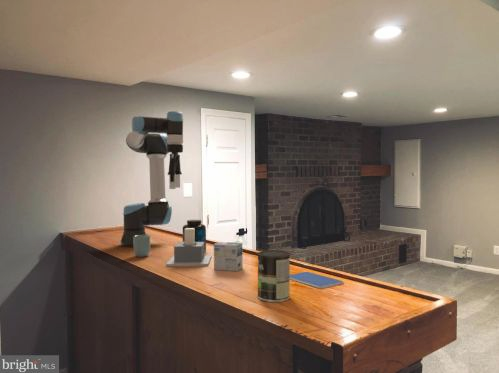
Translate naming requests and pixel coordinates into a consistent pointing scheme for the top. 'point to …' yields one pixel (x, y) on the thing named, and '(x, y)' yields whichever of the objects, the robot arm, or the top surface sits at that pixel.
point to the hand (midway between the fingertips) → (175, 188)
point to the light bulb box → (228, 256)
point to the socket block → (189, 255)
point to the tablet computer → (315, 280)
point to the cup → (141, 245)
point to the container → (196, 231)
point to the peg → (190, 236)
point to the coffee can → (273, 275)
